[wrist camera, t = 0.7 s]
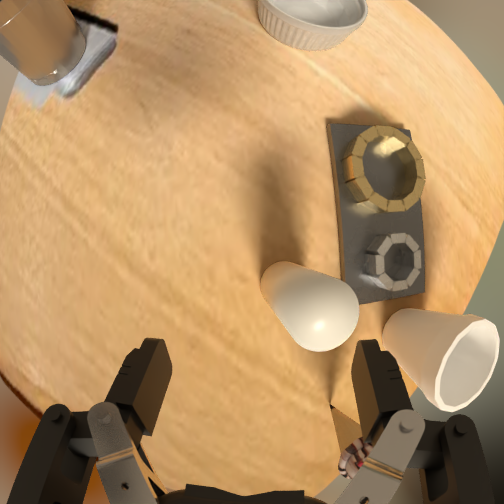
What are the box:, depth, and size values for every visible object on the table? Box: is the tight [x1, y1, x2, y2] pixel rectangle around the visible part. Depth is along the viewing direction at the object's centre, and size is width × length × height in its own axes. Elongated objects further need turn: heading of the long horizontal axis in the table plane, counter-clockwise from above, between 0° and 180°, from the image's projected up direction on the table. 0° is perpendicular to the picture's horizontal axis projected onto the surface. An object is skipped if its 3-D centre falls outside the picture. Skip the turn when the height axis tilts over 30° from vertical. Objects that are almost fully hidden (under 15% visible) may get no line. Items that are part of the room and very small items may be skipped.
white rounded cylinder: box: [260, 261, 359, 352], centre depth 25 cm, size 5×5×13 cm
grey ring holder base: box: [326, 124, 426, 305], centre depth 31 cm, size 20×11×4 cm, turn 5°
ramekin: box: [258, 0, 368, 51], centre depth 27 cm, size 13×13×7 cm
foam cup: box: [382, 308, 500, 412], centre depth 27 cm, size 10×9×13 cm
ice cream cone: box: [330, 404, 373, 480], centre depth 26 cm, size 6×6×15 cm
